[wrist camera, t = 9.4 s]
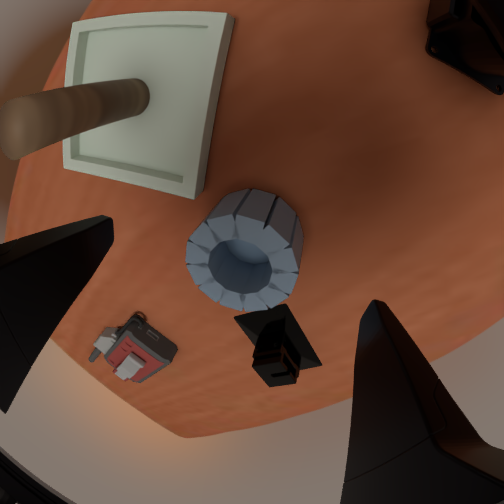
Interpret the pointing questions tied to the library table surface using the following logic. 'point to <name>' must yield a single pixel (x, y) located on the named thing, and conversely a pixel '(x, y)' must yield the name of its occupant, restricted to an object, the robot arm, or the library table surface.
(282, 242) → the ring
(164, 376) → the library table surface
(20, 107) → the dowel
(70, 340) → the library table surface
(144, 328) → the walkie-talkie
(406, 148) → the library table surface
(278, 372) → the black angular piece
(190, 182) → the tray
